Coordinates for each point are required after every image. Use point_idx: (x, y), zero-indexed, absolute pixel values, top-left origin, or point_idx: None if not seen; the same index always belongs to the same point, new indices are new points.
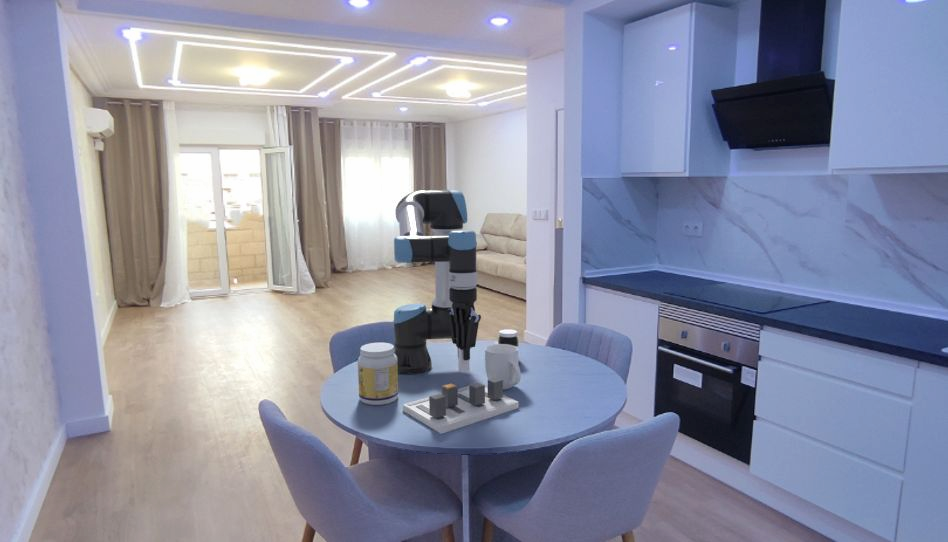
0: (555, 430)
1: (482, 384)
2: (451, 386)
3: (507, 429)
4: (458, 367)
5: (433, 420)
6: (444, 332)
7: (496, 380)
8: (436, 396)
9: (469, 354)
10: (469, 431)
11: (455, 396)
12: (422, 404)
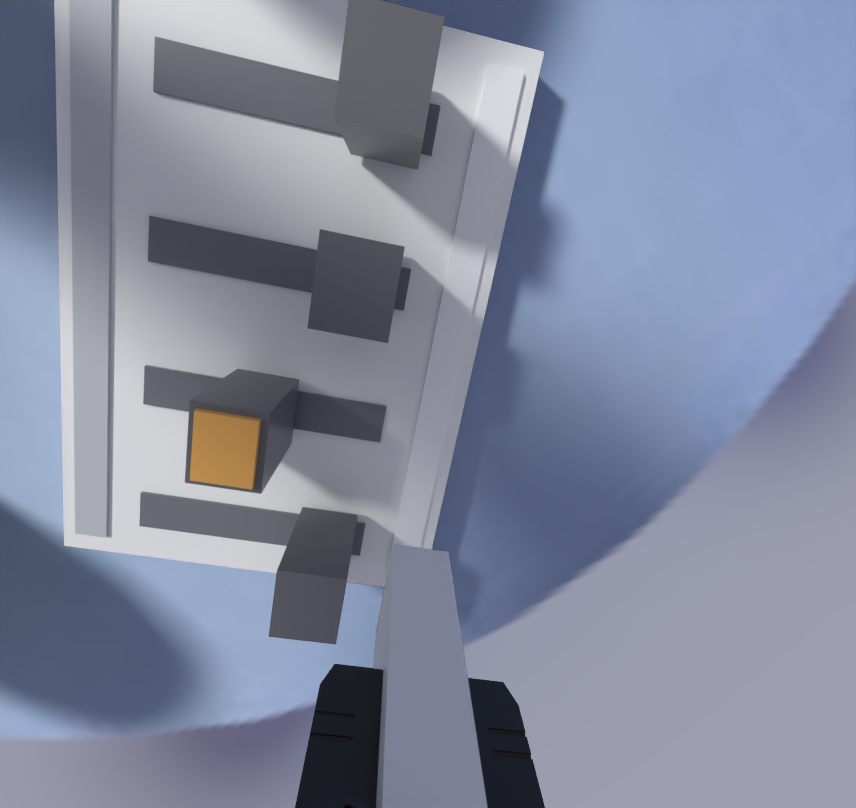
0: (837, 207)
1: (378, 246)
2: (246, 453)
3: (629, 356)
4: (375, 656)
5: None
6: None
7: (405, 72)
8: (304, 612)
9: (529, 767)
10: (498, 481)
11: (284, 410)
12: (137, 482)
